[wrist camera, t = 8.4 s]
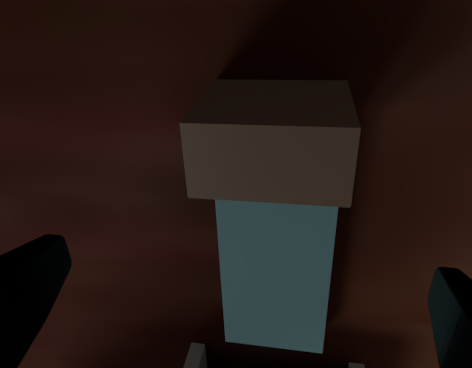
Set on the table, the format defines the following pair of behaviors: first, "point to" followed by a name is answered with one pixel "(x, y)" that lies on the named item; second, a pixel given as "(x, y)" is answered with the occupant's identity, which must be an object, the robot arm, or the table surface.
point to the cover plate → (274, 199)
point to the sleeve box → (198, 361)
